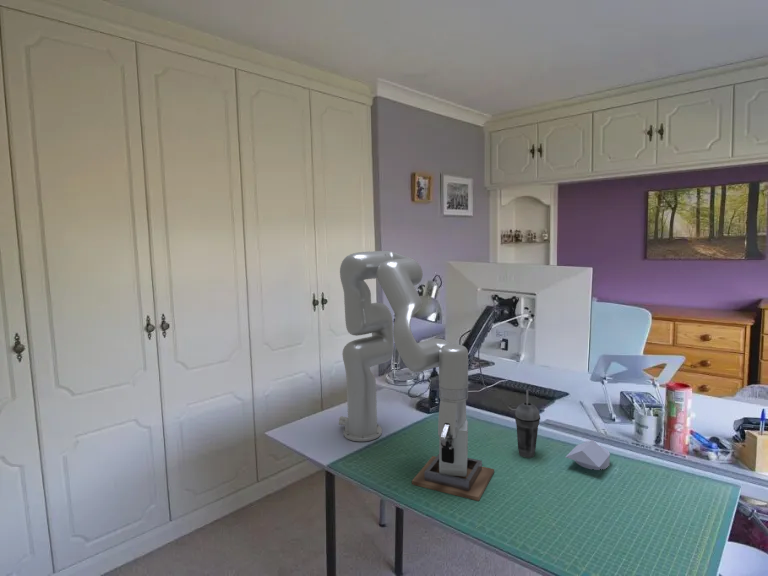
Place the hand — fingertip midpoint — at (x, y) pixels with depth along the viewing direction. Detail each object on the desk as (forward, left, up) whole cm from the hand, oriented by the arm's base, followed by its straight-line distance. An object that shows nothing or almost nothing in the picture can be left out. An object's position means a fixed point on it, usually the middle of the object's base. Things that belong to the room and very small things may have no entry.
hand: (453, 454), depth 128 cm
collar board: (0, 0, -7) cm, 7 cm away
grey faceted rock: (+32, +23, -7) cm, 40 cm away
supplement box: (0, 0, -4) cm, 4 cm away
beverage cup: (+15, +22, -7) cm, 28 cm away
